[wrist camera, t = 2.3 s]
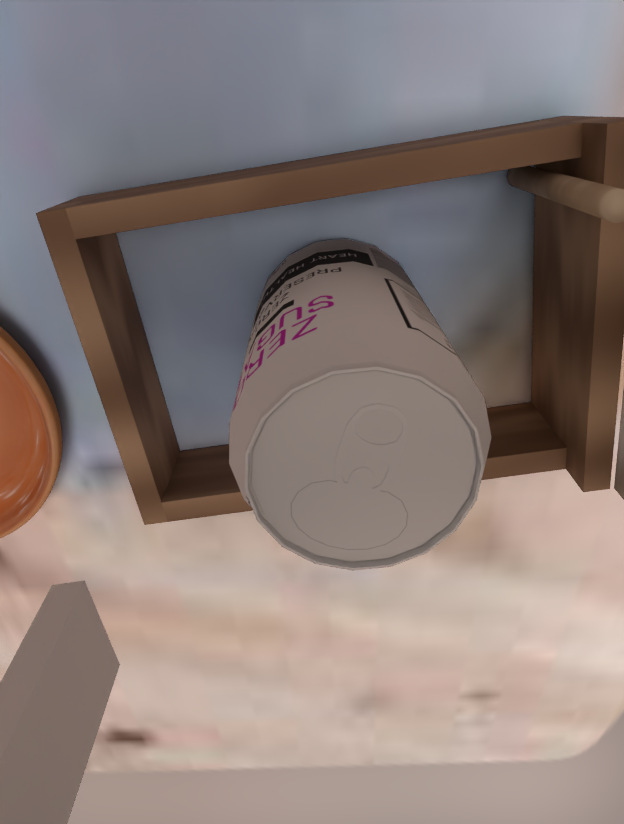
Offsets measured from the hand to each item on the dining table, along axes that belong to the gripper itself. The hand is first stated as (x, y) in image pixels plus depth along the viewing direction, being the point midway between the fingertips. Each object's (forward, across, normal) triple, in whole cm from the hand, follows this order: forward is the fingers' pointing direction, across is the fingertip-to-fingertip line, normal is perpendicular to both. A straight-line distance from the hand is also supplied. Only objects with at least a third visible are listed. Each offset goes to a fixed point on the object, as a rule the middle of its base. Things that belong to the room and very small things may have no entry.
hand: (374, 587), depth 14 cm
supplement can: (+19, 0, 0) cm, 19 cm away
